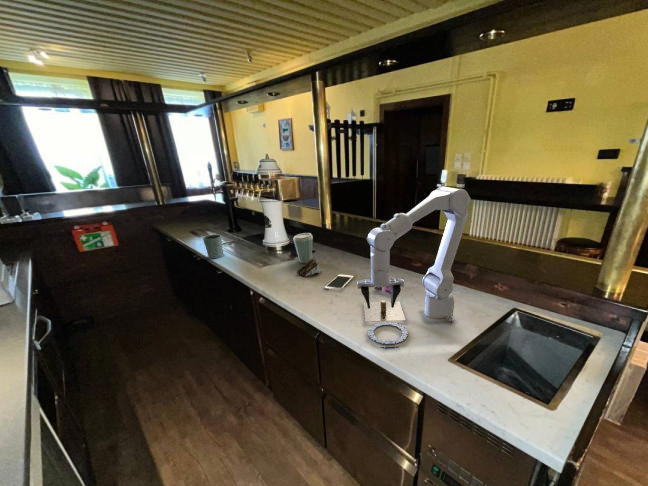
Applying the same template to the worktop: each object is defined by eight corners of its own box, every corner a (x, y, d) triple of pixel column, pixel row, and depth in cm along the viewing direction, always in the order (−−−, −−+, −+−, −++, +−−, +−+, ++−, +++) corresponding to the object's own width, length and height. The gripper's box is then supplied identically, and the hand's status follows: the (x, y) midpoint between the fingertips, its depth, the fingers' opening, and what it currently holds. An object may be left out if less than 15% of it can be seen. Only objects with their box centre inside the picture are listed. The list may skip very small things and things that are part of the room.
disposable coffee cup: (296, 265, 162) (293, 238, 155) (295, 259, 171) (292, 233, 165) (316, 263, 164) (313, 236, 157) (313, 256, 173) (311, 231, 167)
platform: (399, 304, 117) (399, 291, 115) (405, 323, 104) (406, 309, 102) (363, 306, 117) (363, 293, 115) (365, 325, 105) (364, 311, 102)
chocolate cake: (302, 280, 144) (318, 260, 144) (294, 272, 148) (309, 253, 148) (313, 286, 152) (328, 268, 152) (305, 279, 156) (320, 261, 156)
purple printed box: (376, 276, 126) (394, 281, 121) (382, 276, 130) (400, 281, 125) (373, 291, 127) (391, 297, 122) (379, 291, 132) (397, 296, 126)
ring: (404, 325, 103) (404, 321, 102) (410, 347, 92) (410, 343, 91) (367, 327, 103) (367, 322, 103) (369, 349, 92) (369, 344, 91)
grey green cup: (210, 253, 187) (205, 235, 182) (227, 252, 188) (223, 233, 182) (205, 259, 178) (200, 239, 173) (222, 258, 178) (218, 238, 173)
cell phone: (354, 277, 143) (354, 275, 143) (340, 291, 130) (340, 289, 130) (339, 275, 146) (339, 274, 146) (324, 288, 133) (324, 287, 133)
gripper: (401, 262, 96) (400, 299, 101) (356, 264, 96) (357, 301, 102) (405, 270, 89) (404, 310, 95) (356, 272, 89) (358, 312, 95)
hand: (380, 306), depth 98 cm, fingers open, 7 cm apart
